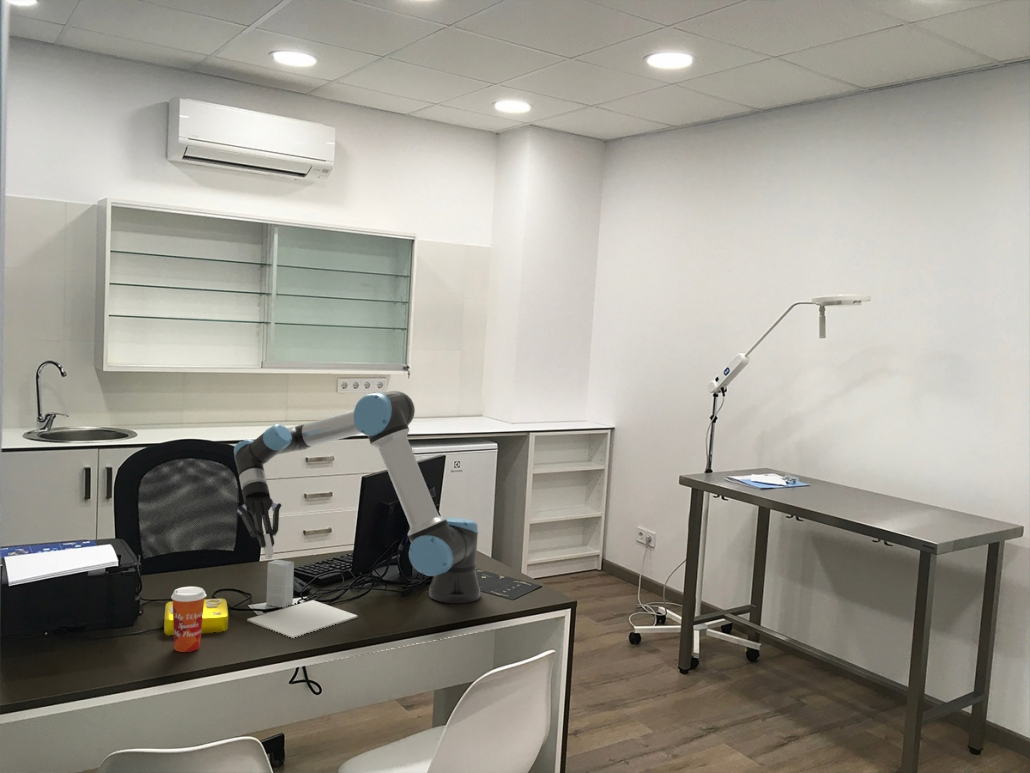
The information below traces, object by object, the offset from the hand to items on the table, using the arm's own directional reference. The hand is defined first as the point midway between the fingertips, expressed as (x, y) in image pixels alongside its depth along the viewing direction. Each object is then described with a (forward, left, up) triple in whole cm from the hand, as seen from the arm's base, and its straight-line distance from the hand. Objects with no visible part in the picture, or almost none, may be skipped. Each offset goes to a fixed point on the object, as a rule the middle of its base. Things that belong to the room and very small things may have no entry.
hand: (270, 556), depth 242 cm
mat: (-22, +6, -12) cm, 25 cm away
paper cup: (-18, +38, -12) cm, 43 cm away
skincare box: (-8, +3, -12) cm, 15 cm away
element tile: (-5, +27, -12) cm, 30 cm away
